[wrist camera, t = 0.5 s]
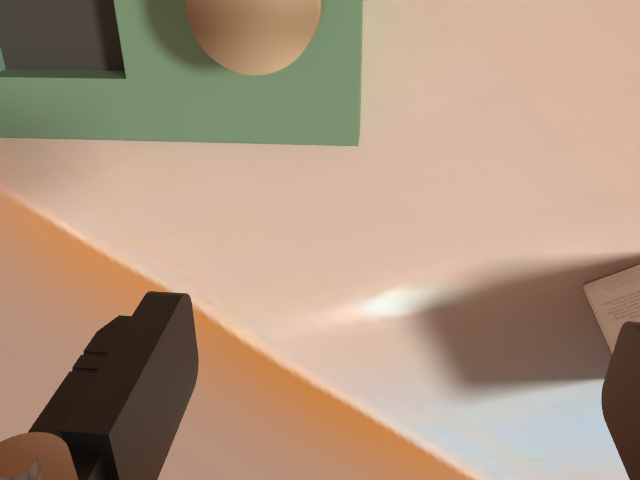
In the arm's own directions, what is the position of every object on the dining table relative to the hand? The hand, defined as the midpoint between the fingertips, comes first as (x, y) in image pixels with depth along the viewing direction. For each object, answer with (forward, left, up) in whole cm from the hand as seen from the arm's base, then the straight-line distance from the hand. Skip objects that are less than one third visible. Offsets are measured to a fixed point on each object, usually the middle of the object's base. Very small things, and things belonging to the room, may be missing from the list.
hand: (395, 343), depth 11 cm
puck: (-4, -6, -20) cm, 21 cm away
